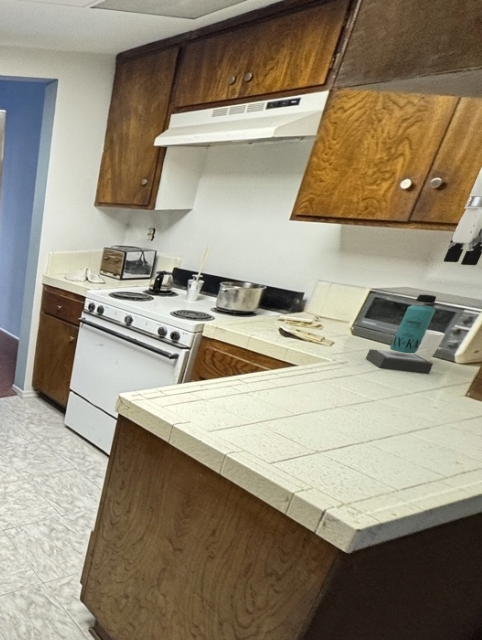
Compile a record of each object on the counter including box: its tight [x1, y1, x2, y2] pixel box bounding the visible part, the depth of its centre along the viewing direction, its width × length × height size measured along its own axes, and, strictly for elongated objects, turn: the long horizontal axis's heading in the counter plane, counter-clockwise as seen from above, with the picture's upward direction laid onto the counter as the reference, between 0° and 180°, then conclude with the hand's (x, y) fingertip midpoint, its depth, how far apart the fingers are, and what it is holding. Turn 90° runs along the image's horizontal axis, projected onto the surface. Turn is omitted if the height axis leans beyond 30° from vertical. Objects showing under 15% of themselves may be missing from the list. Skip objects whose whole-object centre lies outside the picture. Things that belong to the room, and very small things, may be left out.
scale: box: [365, 348, 434, 375], centre depth 157 cm, size 12×12×4 cm
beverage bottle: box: [389, 294, 437, 353], centre depth 152 cm, size 6×7×20 cm
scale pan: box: [376, 349, 425, 362], centre depth 156 cm, size 9×9×2 cm
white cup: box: [411, 329, 446, 362], centre depth 163 cm, size 8×8×10 cm
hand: (459, 263), depth 143 cm, fingers open, 9 cm apart
